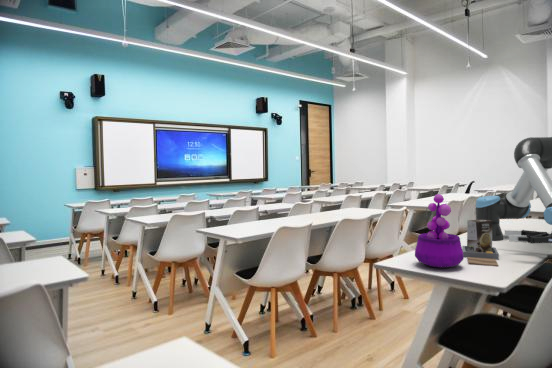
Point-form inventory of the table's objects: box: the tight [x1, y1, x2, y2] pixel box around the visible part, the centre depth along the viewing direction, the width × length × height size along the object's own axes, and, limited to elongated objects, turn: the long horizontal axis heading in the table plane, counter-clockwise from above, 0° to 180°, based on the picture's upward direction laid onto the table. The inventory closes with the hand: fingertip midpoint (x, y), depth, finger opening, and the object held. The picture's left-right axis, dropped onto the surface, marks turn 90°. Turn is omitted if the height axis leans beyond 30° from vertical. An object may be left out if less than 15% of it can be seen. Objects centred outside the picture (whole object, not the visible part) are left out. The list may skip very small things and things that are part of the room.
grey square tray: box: [461, 245, 500, 261], centre depth 183 cm, size 14×14×3 cm
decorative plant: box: [414, 193, 465, 269], centre depth 165 cm, size 19×18×30 cm
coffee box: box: [466, 219, 493, 253], centre depth 183 cm, size 9×6×16 cm
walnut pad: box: [466, 257, 499, 267], centre depth 170 cm, size 11×11×1 cm
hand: (506, 235), depth 179 cm, fingers open, 13 cm apart
